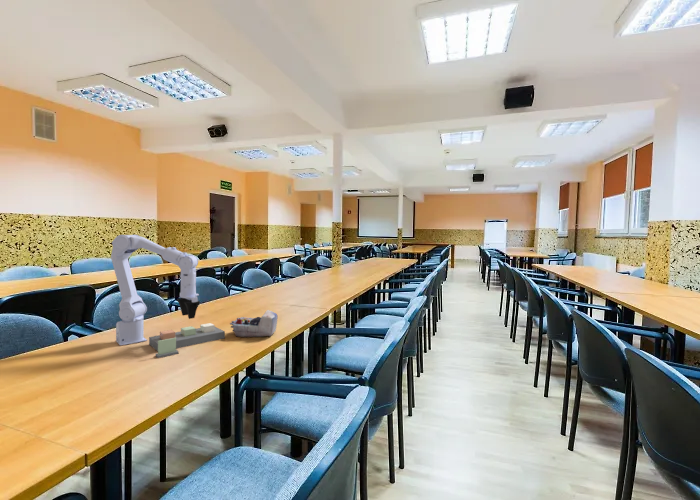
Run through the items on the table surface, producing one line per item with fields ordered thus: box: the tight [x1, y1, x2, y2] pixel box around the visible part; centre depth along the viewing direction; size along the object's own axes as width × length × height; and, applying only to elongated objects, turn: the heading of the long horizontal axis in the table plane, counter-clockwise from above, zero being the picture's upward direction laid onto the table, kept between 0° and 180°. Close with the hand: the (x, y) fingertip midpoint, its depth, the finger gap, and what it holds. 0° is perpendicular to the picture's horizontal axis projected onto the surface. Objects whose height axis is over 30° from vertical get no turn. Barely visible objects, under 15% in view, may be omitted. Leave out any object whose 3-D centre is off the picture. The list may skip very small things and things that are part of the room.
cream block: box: [199, 322, 216, 333], centre depth 148 cm, size 4×4×4 cm
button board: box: [148, 326, 226, 352], centre depth 142 cm, size 26×12×3 cm, turn 135°
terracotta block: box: [159, 329, 176, 340], centre depth 136 cm, size 4×4×4 cm
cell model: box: [229, 309, 278, 338], centre depth 154 cm, size 13×11×20 cm
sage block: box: [180, 325, 197, 337], centre depth 142 cm, size 4×4×4 cm
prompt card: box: [155, 338, 179, 359], centre depth 126 cm, size 7×3×6 cm, turn 135°
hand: (188, 316), depth 142 cm, fingers open, 6 cm apart
